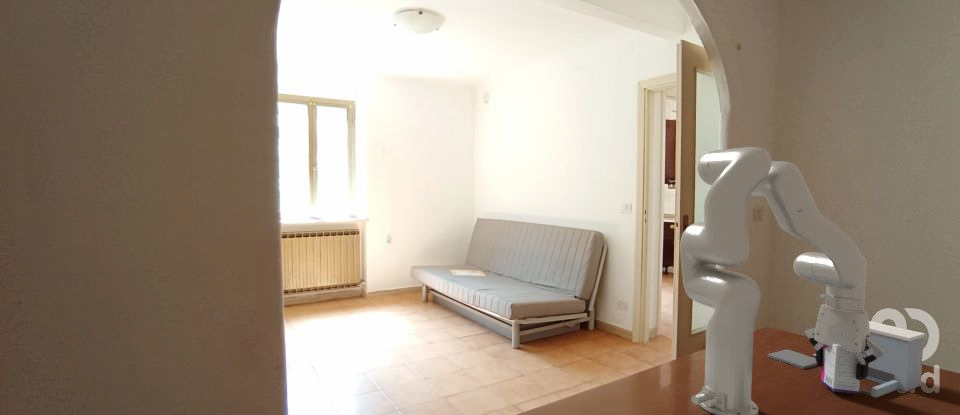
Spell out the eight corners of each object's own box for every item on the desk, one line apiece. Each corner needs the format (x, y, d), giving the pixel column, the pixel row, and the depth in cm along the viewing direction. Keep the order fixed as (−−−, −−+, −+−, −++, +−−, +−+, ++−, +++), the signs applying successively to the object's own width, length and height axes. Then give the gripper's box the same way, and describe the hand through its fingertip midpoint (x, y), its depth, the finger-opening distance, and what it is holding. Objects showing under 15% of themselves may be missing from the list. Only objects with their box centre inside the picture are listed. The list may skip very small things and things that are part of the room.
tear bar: (870, 395, 110) (870, 393, 110) (830, 381, 118) (830, 379, 118) (871, 395, 110) (872, 392, 110) (831, 380, 118) (831, 378, 118)
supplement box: (860, 393, 108) (863, 347, 108) (832, 391, 110) (835, 345, 109) (845, 383, 114) (848, 339, 114) (819, 381, 115) (822, 337, 115)
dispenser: (884, 400, 107) (888, 344, 107) (818, 377, 120) (820, 327, 120) (922, 385, 116) (925, 333, 115) (855, 365, 129) (858, 318, 128)
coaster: (803, 369, 126) (803, 366, 125) (767, 356, 134) (767, 354, 134) (823, 363, 130) (823, 360, 130) (786, 351, 139) (787, 349, 139)
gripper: (798, 296, 117) (794, 361, 118) (880, 313, 101) (875, 389, 102) (814, 293, 120) (810, 357, 121) (896, 310, 105) (891, 383, 105)
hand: (840, 371), depth 112 cm, fingers closed on supplement box, 7 cm apart
